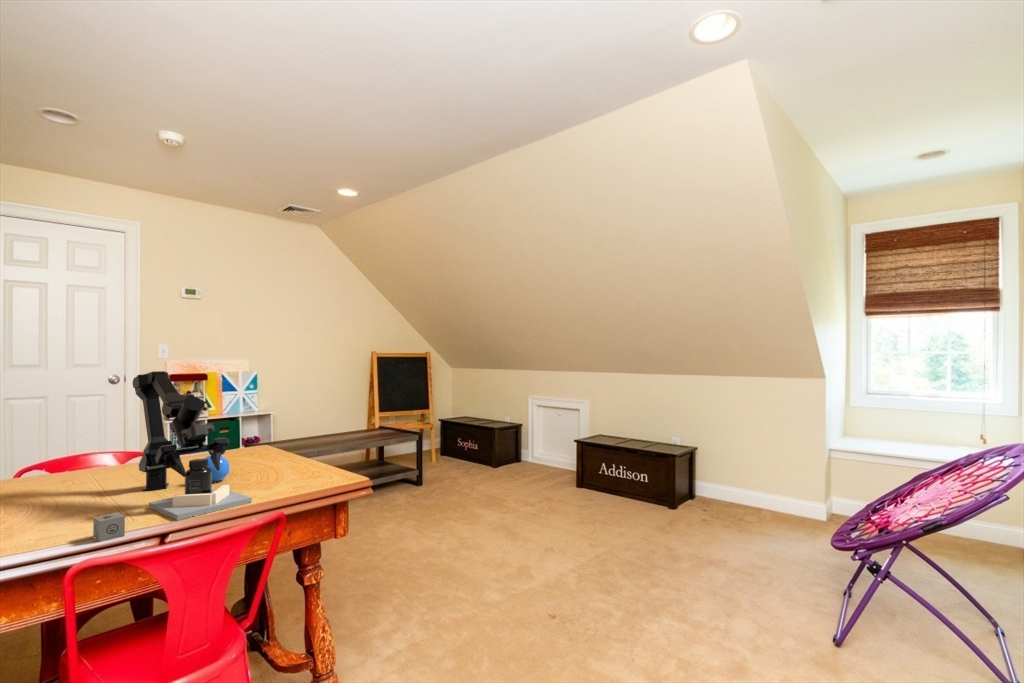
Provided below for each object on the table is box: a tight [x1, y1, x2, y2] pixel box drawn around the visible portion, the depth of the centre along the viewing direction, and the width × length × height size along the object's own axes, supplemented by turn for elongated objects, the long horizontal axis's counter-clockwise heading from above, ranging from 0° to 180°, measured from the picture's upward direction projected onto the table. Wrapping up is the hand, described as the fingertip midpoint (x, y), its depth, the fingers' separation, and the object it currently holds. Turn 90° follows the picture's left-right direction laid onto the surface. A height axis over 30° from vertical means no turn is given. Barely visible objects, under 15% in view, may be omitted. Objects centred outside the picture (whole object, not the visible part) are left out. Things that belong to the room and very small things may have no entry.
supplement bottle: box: [184, 458, 213, 495], centre depth 150 cm, size 7×7×12 cm
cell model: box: [204, 454, 232, 483], centre depth 179 cm, size 10×12×10 cm
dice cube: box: [92, 512, 126, 543], centre depth 125 cm, size 5×5×5 cm
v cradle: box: [148, 484, 253, 521], centre depth 151 cm, size 20×20×4 cm
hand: (202, 472), depth 150 cm, fingers open, 9 cm apart
